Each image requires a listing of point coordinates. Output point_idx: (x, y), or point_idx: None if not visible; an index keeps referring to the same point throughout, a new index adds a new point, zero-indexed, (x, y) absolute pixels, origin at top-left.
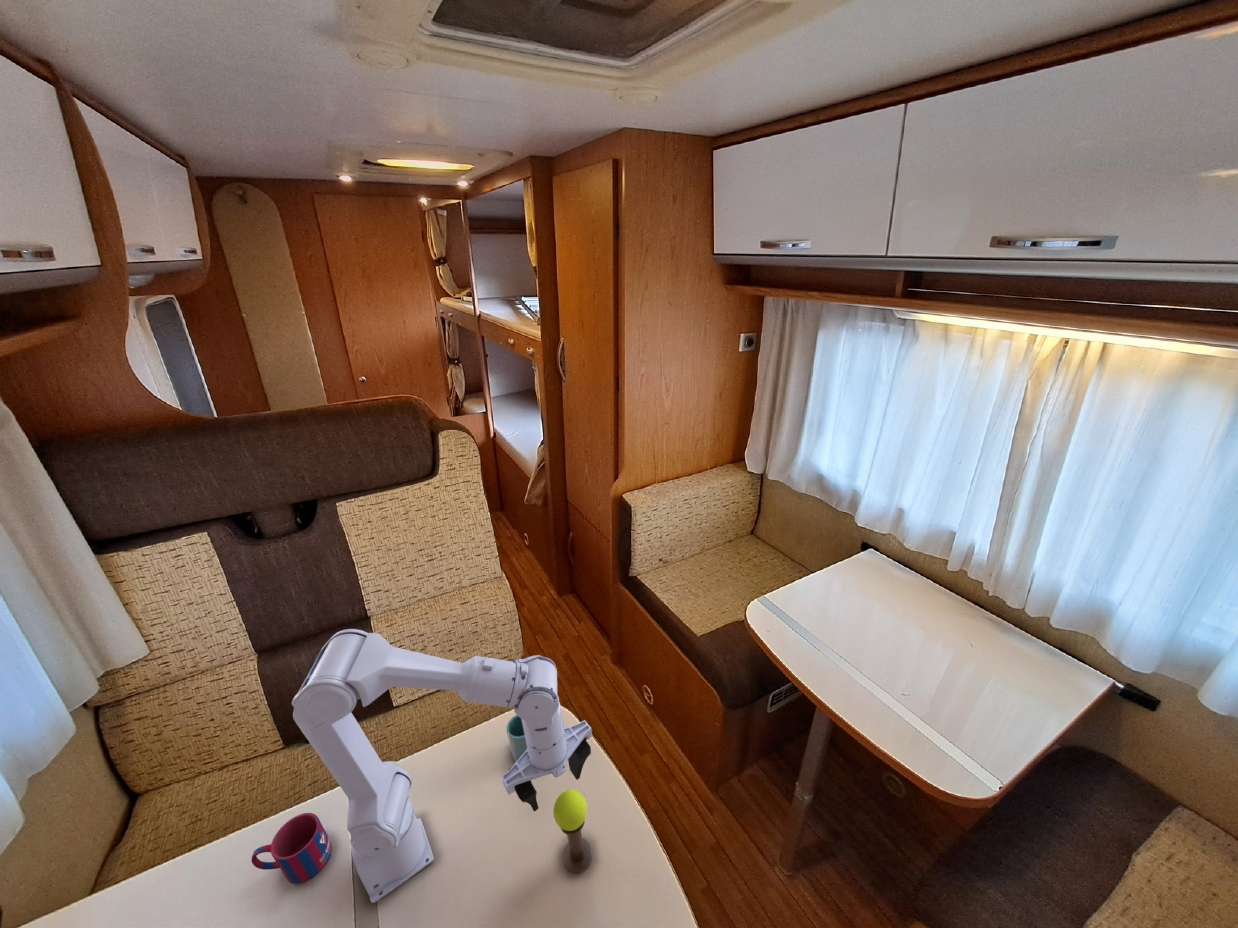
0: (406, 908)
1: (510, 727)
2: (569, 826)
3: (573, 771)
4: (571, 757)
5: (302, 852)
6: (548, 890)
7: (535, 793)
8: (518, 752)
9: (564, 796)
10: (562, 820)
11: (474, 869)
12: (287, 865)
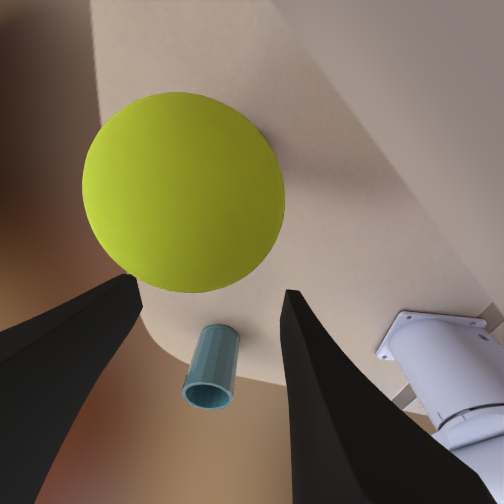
0: (466, 288)
1: (223, 395)
2: (247, 122)
3: (124, 305)
4: (67, 378)
5: None
6: (317, 152)
7: (372, 481)
8: (231, 351)
9: (176, 276)
10: (268, 171)
11: (374, 266)
12: None
